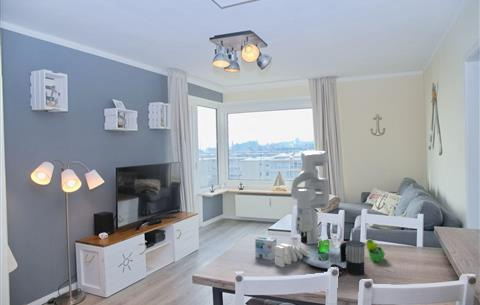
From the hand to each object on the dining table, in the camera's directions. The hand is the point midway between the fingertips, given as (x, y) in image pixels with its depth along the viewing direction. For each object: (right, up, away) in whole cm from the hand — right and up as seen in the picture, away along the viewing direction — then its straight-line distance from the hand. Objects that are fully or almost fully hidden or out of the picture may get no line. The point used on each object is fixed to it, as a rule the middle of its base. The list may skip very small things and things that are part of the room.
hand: (304, 242), depth 192 cm
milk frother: (+17, -9, -25) cm, 31 cm away
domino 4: (-4, -7, -3) cm, 9 cm away
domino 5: (+1, -7, +1) cm, 7 cm away
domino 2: (-11, -8, -10) cm, 17 cm away
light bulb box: (-22, -8, 0) cm, 23 cm away
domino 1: (-15, -8, -14) cm, 22 cm away
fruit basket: (+38, -8, -6) cm, 39 cm away
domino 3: (-8, -8, -6) cm, 12 cm away
